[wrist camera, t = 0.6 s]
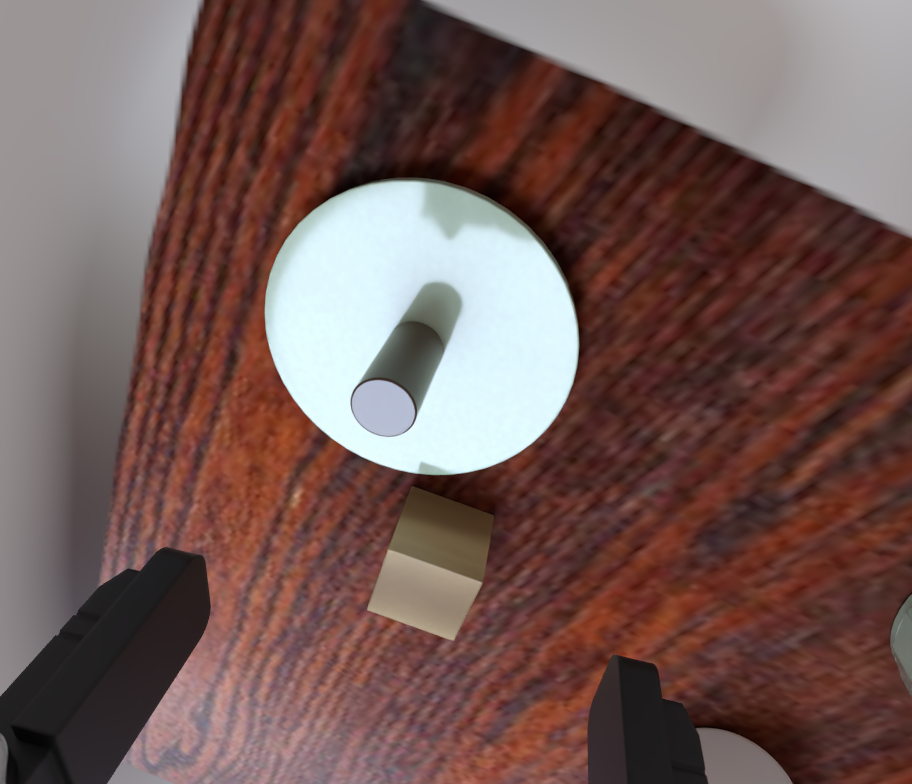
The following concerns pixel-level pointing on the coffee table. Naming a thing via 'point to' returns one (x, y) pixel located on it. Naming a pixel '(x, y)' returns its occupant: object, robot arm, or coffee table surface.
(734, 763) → the mug
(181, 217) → the coffee table surface
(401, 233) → the lid
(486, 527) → the block
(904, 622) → the jar
